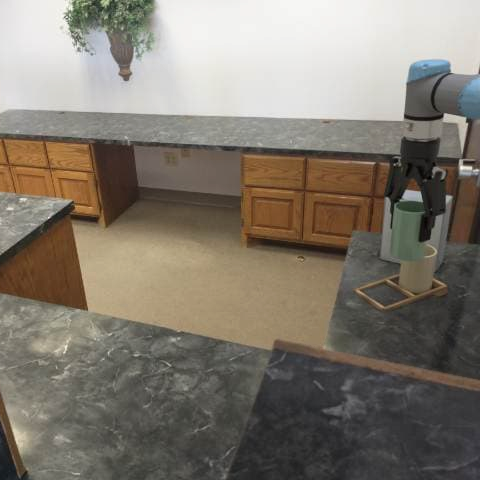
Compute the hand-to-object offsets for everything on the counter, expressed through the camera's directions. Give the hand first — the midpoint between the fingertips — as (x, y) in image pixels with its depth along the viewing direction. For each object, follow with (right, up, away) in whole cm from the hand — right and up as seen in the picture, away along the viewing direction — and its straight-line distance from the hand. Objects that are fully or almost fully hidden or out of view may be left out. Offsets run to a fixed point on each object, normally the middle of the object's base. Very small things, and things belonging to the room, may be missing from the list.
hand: (409, 233), depth 118 cm
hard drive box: (+14, -7, +29) cm, 33 cm away
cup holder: (+4, -16, +14) cm, 21 cm away
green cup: (+1, -5, +2) cm, 5 cm away
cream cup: (+8, -15, +15) cm, 23 cm away
